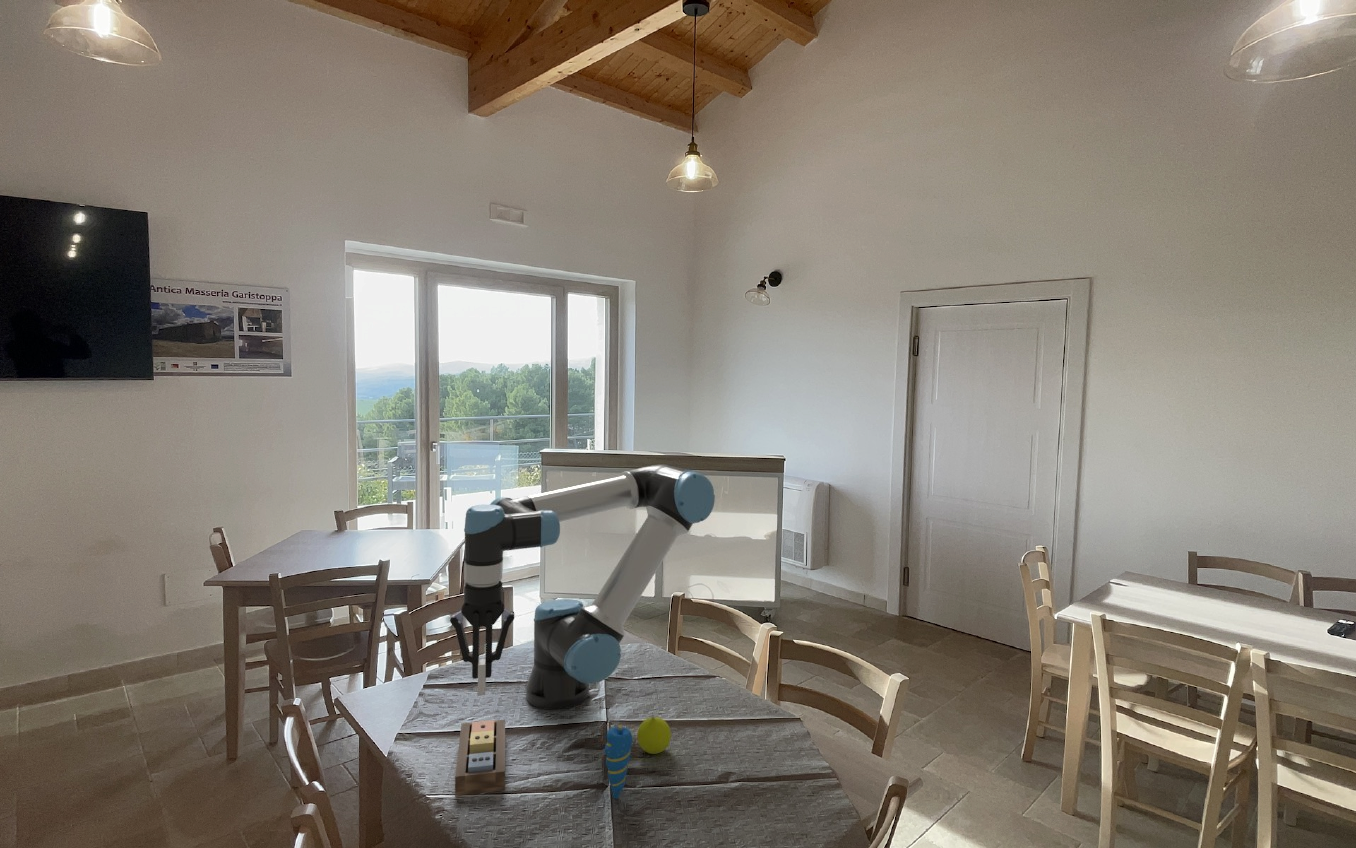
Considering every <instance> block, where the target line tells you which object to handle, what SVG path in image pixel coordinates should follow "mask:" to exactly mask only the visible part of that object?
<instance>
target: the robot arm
mask: <svg viewBox="0 0 1356 848" xmlns="http://www.w3.org/2000/svg"><path fill="white" fill-rule="evenodd" d="M715 499H716V495H715V489H714V486H713V484H712V482H711V481H710V479H709V478H708V477H707V476H706V475H704V474H702V473H699V472H697V471H696V470H693V469H686V468H682V467H678V466H674V465H671V464H668V463H667V464H666V463H664V464H662V463H661V464H659V463H658V464H652V465H647V466H643V467H638V468H635V469H631V470H625V471H622V472H621V473H620V475H619V476H616V477H612V478H611V477H610V478H606V479H603V480H596V481H593V482H589V483H583V484H579V485H575V486H574V485H573V486H570V487H565V488H559V489H556V490H551V491H547V492H543V493H538V494H533V495H528V496H522V497H517V498H511V497H504V496H501V497H498V498H496V499H494V500H493V501H491V502H490V504H477V505H473V506H471V507H469V508H468V509H467V510H466V512H465V520H464V522H465V523H464V529H463V531H464V567H463V568H464V570H463V573H464V574H463V577H464V578H463V580H464V582H465V583H464V585H463V586H464V587H463V604H462V606H461V610H459V611H458V612H456V613H455V612H454V613H452V614H451V616H450V620H449V622H450V624H452V626H453V627H454V629H455V632H456V637H457V641H458V644H459V649H460V653H461V657H462V660H463V662H465V663H470V664H471V666H472V667H471V669H472V670H471V671H472V673H471V677H472V679H477V696H486V689H487V688H486V687H487V678H488V679H489V678H491V676H492V674H493V673H492V672H493V670H492V669H493V665H492V663H494V662H495V661H499V660H501V658H502V654H503V650H504V646H505V643H506V639H507V635H508V632H509V627H510V625H511V624H512V623H513V621H514V620H515V612H514V610H508V609H506V608H505V605H504V603H503V582H502V580H503V570H504V569H503V566H504V565H503V564H504V563H503V562H504V552H506V551H507V552H508V551H514V550H515V551H516V550H522V549H532V548H533V549H534V548H543V547H545V546H547V547H548V546H551V545H554V544H556V543H557V542H558V540H559V538H560V533H561V524H560V522H565V521H568V520H574V519H577V518H581V517H585V516H591V515H594V514H598V513H603V512H607V511H611V510H615V509H619V508H623V507H626V508H628V509H629V510H633V509H636V508H646V513H647V517H646V519H645V520H644V521H643V523H642V525H641V526H640V528H639V530H638V532H637V533H636V534H635V536H634V538H633V539H632V541H631V542H630V544H629V546H628V547H627V548H626V550H625V552H624V554H623V555H622V556H621V558H620V559H619V561H618V563H617V564H616V566H615V567H614V569H613V570H612V572H611V573H610V575H609V577H608V579H606V581H605V583H604V584H603V586H602V588H601V589H600V591H599V593H598V594H597V596H596V597H595V599H594V601H593V602H592V603H590V605H589V604H588V605H585V606H584V603H583V602H582V601H580V600H577V599H572V598H571V599H569V598H568V599H567V598H562V599H553V600H548V601H545V602H542V603H540V604H539V605H537V606H536V607H535V610H534V618H533V621H534V623H533V626H534V627H533V630H534V631H533V633H534V634H533V638H534V639H533V640H534V641H533V666H532V669H531V672H530V674H529V675H530V676H529V678H528V680H527V684H526V686H525V697H526V700H527V702H528V703H529V704H530V705H532V706H534V707H537V708H540V709H544V710H554V711H555V710H556V711H557V710H564V709H570V708H574V707H576V706H579V705H580V704H582V703H584V702H585V701H586V700H587V698H588V697H589V695H590V684H596V683H598V682H602V681H604V680H606V679H607V678H609V677H610V676H611V675H612V674H613V673H614V672H615V670H617V668H618V666H619V664H620V661H621V657H622V654H621V651H622V649H621V645H620V644H621V642H622V641H623V639H624V636H625V627H624V624H625V622H626V621H627V620H628V618H629V616H630V615H631V613H632V611H633V610H634V608H635V606H636V605H637V603H638V601H639V600H640V598H641V596H642V595H643V593H644V592H645V590H646V589H647V587H648V585H649V584H650V582H651V580H652V579H653V577H654V576H655V574H656V573H657V572H658V569H659V567H660V565H661V564H662V562H663V561H664V559H665V557H666V556H667V555H668V553H669V552H670V550H671V547H673V544H674V543H675V541H676V540H677V539H678V536H682V535H687V534H688V533H689V530H690V529H691V528H692V526H693V525H694V524H699V523H700V522H703V521H705V520H706V519H708V518H709V516H710V515H711V514H712V512H713V510H714V506H715V502H716V500H715ZM501 616H502V617H501ZM500 617H501V619H502V621H503V622H502V624H501V628H500V631H499V632H500V633H499V635H498V641H497V644H496V647H495V649H494V652H493V625H495V624H496V622H497V621H498V620H499V618H500ZM464 619H466V621H467V622H468V623H469V625H471V626H472V653H471V651H470V648H469V645H468V639H467V636H466V632H465V628H464V624H463V622H464ZM482 627H483V628H485V658H481V659H480V628H482Z"/></svg>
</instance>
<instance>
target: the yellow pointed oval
mask: <svg viewBox="0 0 1356 848" xmlns="http://www.w3.org/2000/svg"><path fill="white" fill-rule="evenodd" d="M641 722H642V723H640V725H639V727H638V728H637V735H636V737H637V742H638V745H639V746H640V748H641V749H642V750H643V751H644V752H645V753H648V754H652V755H657V754H660V753H662V752H663V751H665V750H666V749H667V748H668V746H669V745H670V742H671V738H672V734H671V733H672V731H671V729H670V726H669V723H667V721H666V720H665V719H663V718H661V717H658V716H655V714H652V715H651V716H649V717H648V718H645V719H644V720H643V721H641Z"/></svg>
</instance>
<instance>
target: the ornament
mask: <svg viewBox="0 0 1356 848" xmlns="http://www.w3.org/2000/svg"><path fill="white" fill-rule="evenodd" d="M605 737H606V742H607V743H605V746H604V753H605V756H606V760H605V764H606V767H607V779H608V782H609V785H610V787H611V788H610V789H611V791H612V795H613V798H614V799H615V800H618V799H619V797H620V795H621V793H622V791H623V789H624V787H625V785H626V776H627V773H628V769H629V765H628V764H629V761H630V759H631V753H632V752H631V749H632V746H633V740H634V739H633V734H632V732H631V731H630V729H629V728H628V727H624V726H623V724H620V723H618V725H617V726H615V727H612V728H609V730H608V731H607V733H606V736H605Z"/></svg>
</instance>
